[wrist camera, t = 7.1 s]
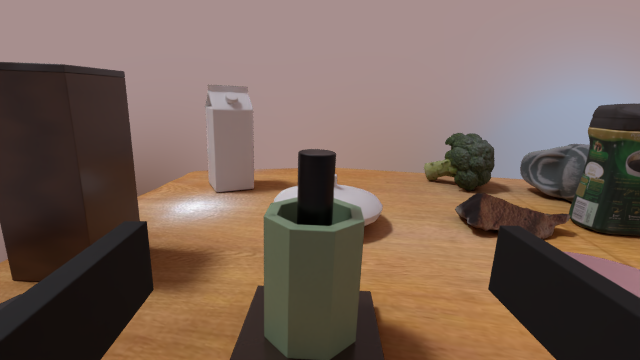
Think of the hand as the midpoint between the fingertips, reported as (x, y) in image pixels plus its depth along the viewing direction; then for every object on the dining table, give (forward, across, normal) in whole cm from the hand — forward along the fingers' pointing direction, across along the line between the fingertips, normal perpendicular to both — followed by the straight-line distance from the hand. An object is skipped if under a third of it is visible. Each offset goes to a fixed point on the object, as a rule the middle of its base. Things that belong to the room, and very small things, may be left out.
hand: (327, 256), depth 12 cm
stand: (+22, -24, -12) cm, 34 cm away
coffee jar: (+34, +46, -12) cm, 59 cm away
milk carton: (+52, -14, -12) cm, 55 cm away
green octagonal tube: (+10, 0, -11) cm, 14 cm away
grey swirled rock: (+47, +53, -12) cm, 72 cm away
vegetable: (+57, +33, -12) cm, 67 cm away
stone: (+32, +30, -12) cm, 46 cm away
